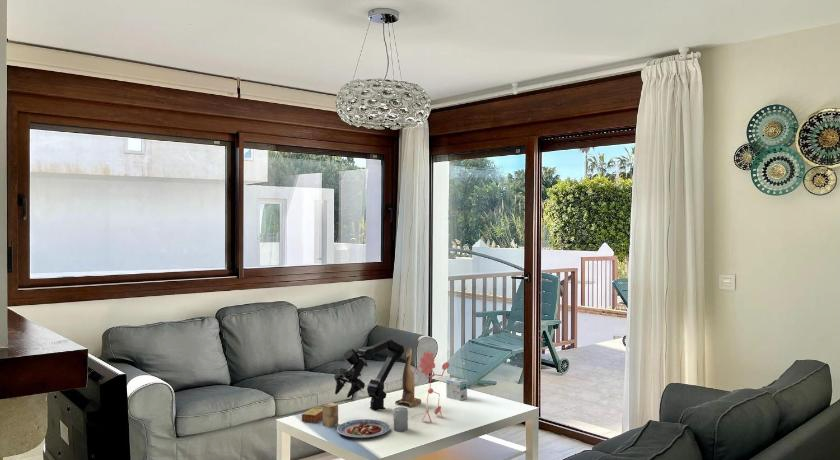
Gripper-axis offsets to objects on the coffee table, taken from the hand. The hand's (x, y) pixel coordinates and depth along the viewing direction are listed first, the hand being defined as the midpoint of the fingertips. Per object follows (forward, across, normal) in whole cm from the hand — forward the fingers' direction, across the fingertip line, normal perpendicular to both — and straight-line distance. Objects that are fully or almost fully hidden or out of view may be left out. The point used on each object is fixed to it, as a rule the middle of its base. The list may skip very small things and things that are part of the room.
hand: (341, 395), depth 327 cm
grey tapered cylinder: (+3, +33, +16) cm, 37 cm away
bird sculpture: (-19, +6, +42) cm, 46 cm away
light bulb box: (-37, +20, +62) cm, 75 cm away
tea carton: (+15, +1, +2) cm, 15 cm away
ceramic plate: (+13, +21, +5) cm, 25 cm away
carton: (+14, -14, +5) cm, 20 cm away
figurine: (-11, +31, +32) cm, 46 cm away
